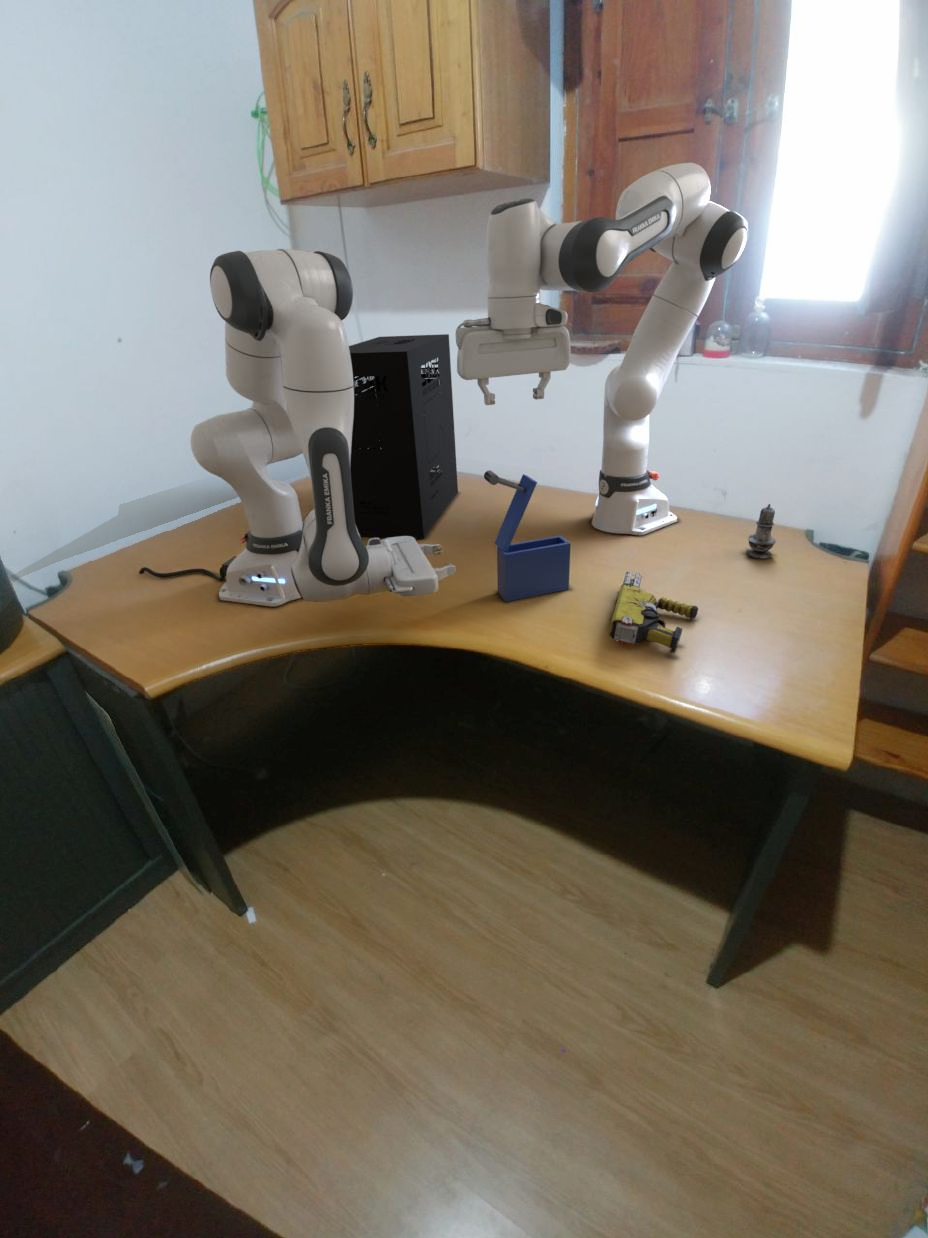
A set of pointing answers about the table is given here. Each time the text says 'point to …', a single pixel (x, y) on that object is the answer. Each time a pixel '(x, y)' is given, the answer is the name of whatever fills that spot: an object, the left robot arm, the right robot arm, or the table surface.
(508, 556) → the chest
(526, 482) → the lid
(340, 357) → the left robot arm
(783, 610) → the table surface
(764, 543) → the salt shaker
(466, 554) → the table surface
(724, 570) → the table surface
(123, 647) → the table surface
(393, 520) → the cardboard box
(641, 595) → the toy gun
